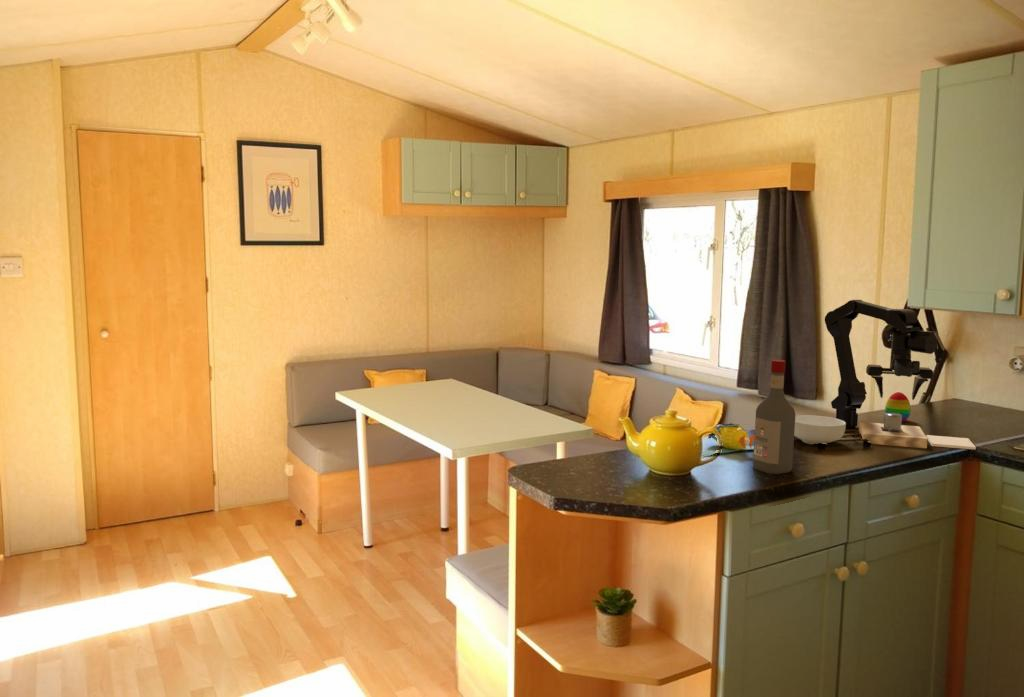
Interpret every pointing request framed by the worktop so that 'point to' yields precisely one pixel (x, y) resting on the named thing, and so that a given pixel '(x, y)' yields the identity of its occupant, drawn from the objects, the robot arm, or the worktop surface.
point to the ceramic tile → (950, 442)
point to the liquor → (774, 427)
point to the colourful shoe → (731, 439)
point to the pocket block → (893, 435)
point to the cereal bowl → (818, 429)
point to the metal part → (892, 422)
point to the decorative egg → (898, 405)
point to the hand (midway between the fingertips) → (897, 398)
